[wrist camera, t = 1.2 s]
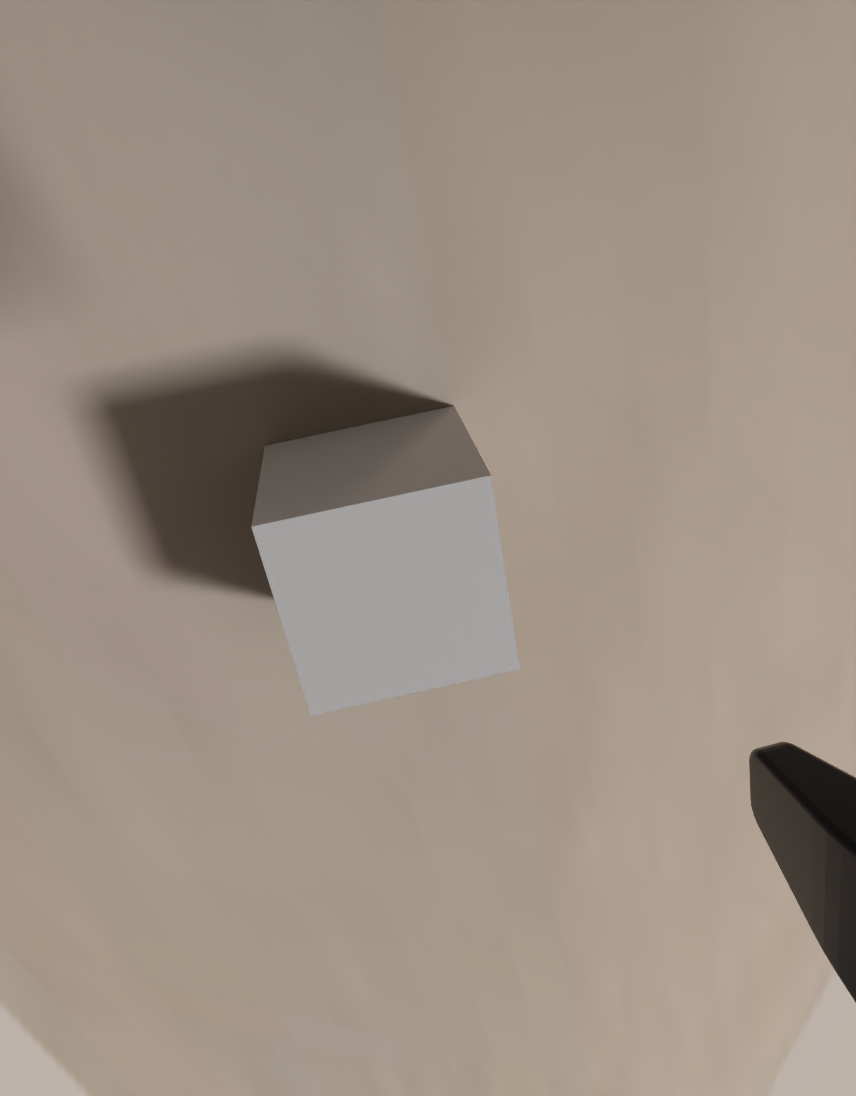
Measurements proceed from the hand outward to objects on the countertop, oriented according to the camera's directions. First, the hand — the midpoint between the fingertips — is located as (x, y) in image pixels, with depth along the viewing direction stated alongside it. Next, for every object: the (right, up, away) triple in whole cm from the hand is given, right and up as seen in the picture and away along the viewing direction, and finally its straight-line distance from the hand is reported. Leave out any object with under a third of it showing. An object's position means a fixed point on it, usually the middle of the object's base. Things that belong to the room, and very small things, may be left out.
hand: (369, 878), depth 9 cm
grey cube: (-1, +5, +13) cm, 14 cm away
